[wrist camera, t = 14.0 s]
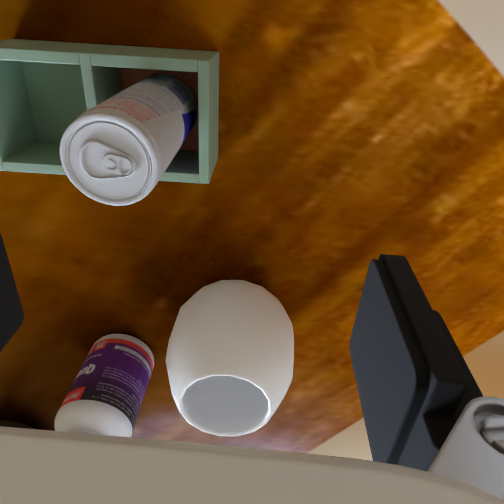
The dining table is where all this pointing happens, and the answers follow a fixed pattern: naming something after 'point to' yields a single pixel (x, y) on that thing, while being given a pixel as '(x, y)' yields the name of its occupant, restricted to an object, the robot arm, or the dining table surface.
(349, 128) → the dining table surface
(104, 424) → the pill bottle
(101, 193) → the beverage can
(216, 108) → the box
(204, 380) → the white vase
